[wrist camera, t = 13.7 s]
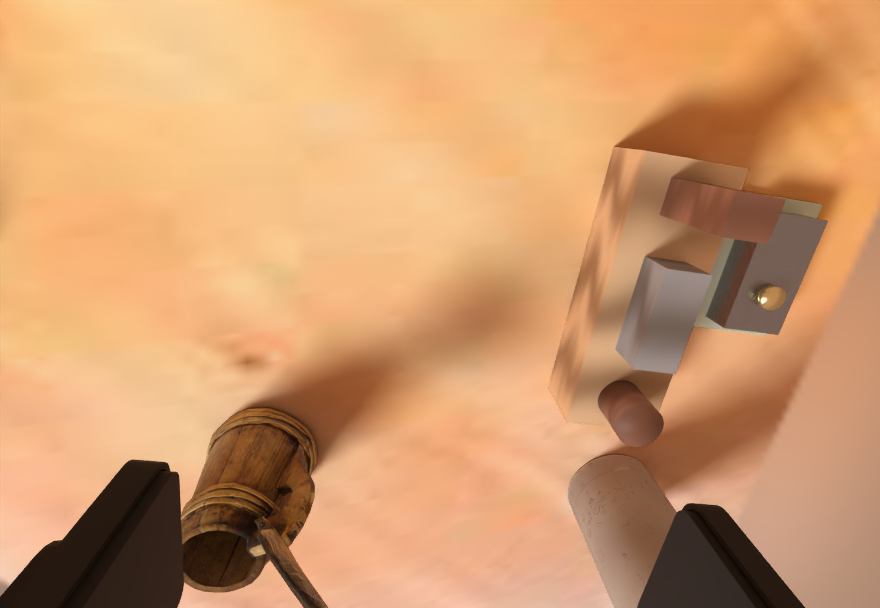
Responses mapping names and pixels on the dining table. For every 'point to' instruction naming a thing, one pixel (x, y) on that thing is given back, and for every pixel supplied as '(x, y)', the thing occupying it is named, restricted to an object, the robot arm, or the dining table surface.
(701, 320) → the felt mat
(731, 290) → the lever cap
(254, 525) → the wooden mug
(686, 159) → the body
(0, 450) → the dining table surface
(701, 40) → the dining table surface
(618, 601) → the thermos bottle
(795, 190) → the dining table surface
